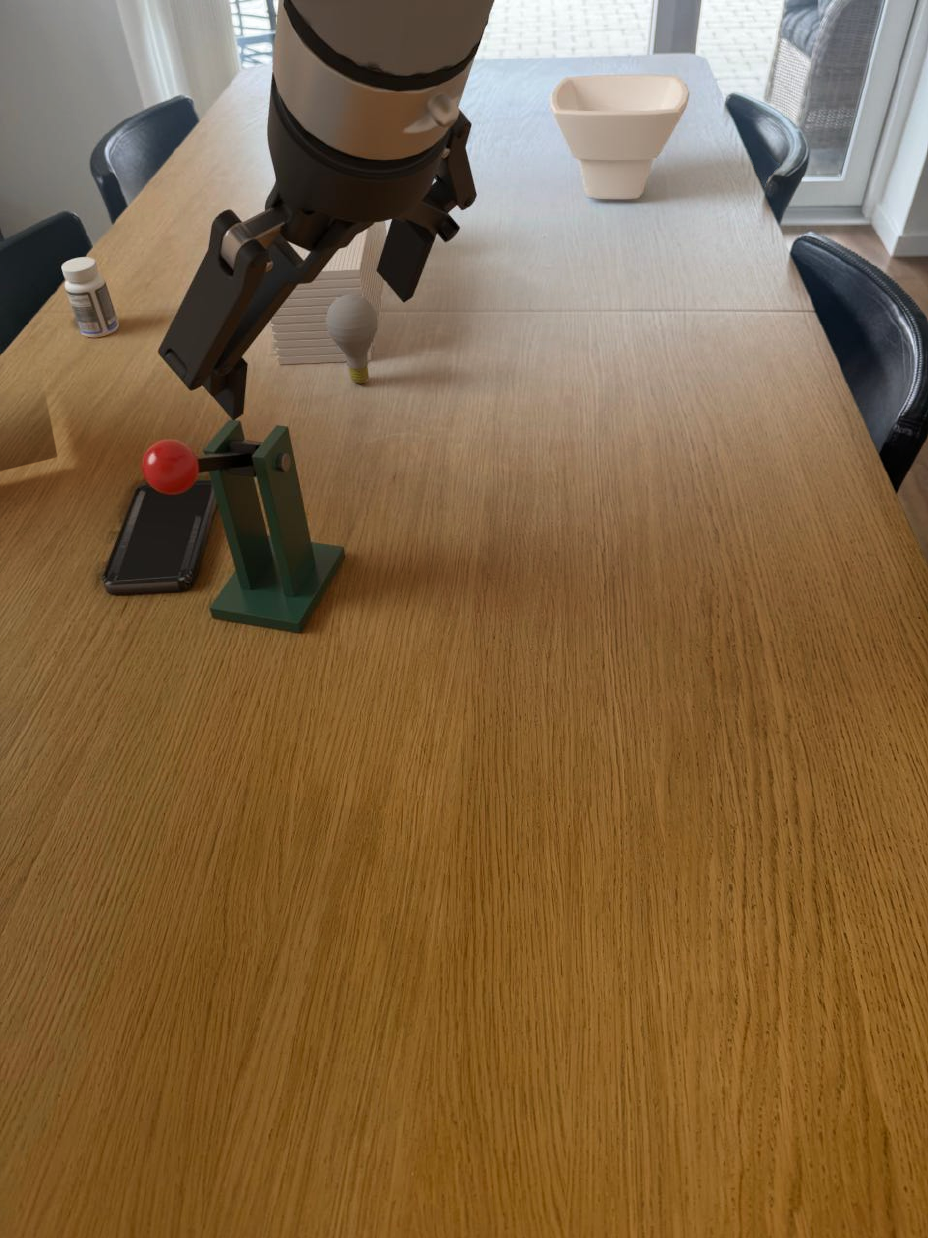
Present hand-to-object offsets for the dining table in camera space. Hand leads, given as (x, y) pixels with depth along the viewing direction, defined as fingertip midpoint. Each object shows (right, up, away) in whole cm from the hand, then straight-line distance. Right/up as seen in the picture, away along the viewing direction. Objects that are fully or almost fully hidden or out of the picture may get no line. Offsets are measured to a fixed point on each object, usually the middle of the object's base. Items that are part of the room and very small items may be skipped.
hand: (312, 339), depth 59 cm
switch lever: (-9, -8, +9) cm, 15 cm away
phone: (-18, -10, +29) cm, 35 cm away
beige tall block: (-7, +23, +64) cm, 68 cm away
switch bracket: (-6, -14, +23) cm, 28 cm away
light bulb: (-2, +9, +48) cm, 49 cm away
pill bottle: (-36, +19, +61) cm, 73 cm away
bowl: (+32, +47, +86) cm, 103 cm away
